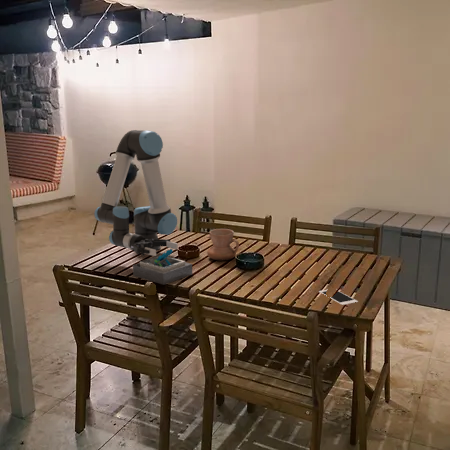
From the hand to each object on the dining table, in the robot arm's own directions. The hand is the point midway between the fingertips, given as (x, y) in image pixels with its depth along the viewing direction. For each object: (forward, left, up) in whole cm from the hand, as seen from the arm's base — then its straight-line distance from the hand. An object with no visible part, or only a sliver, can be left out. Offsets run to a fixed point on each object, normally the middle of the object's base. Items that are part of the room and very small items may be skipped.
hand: (166, 249), depth 223 cm
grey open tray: (0, -3, -12) cm, 13 cm away
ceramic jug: (-37, +2, -13) cm, 39 cm away
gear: (+1, -2, -8) cm, 8 cm away
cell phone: (-25, +72, -13) cm, 77 cm away
